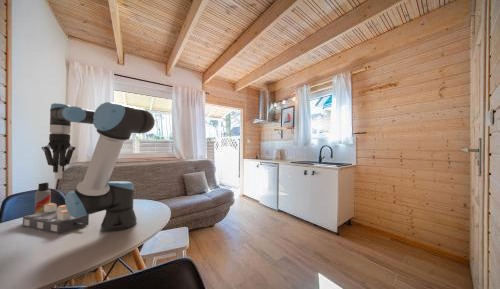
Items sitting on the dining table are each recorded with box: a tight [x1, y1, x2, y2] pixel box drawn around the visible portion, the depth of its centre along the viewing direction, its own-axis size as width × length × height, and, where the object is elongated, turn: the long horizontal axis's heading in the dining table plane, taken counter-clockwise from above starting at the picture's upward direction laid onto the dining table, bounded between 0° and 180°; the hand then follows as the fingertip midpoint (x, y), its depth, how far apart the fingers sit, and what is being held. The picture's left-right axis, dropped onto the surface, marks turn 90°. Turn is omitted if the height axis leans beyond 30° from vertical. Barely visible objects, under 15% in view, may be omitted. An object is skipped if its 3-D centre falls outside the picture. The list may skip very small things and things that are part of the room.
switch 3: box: [44, 202, 58, 212], centre depth 97 cm, size 4×3×4 cm
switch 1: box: [57, 210, 71, 221], centre depth 87 cm, size 4×3×4 cm
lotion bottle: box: [34, 182, 52, 214], centre depth 102 cm, size 6×6×20 cm
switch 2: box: [56, 204, 67, 214], centre depth 95 cm, size 4×3×4 cm
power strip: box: [22, 208, 90, 235], centre depth 91 cm, size 33×12×6 cm, turn 75°
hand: (58, 178), depth 93 cm, fingers closed
